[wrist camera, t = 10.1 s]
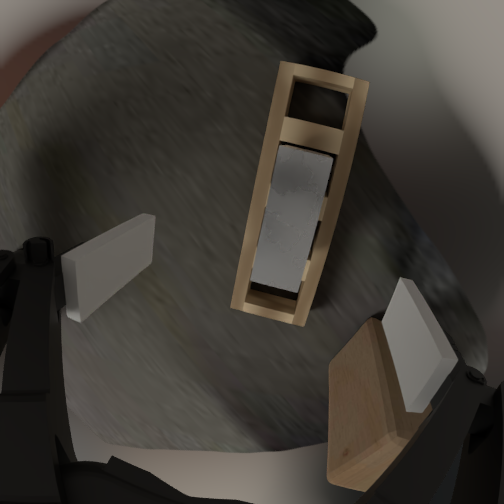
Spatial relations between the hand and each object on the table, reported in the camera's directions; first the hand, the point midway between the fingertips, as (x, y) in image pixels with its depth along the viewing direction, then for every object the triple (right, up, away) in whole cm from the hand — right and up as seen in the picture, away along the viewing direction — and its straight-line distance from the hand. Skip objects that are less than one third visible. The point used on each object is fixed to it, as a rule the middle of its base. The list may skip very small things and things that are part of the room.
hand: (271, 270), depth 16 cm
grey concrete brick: (+4, +7, +19) cm, 21 cm away
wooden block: (+16, -13, +24) cm, 32 cm away
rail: (+4, +7, +19) cm, 21 cm away
